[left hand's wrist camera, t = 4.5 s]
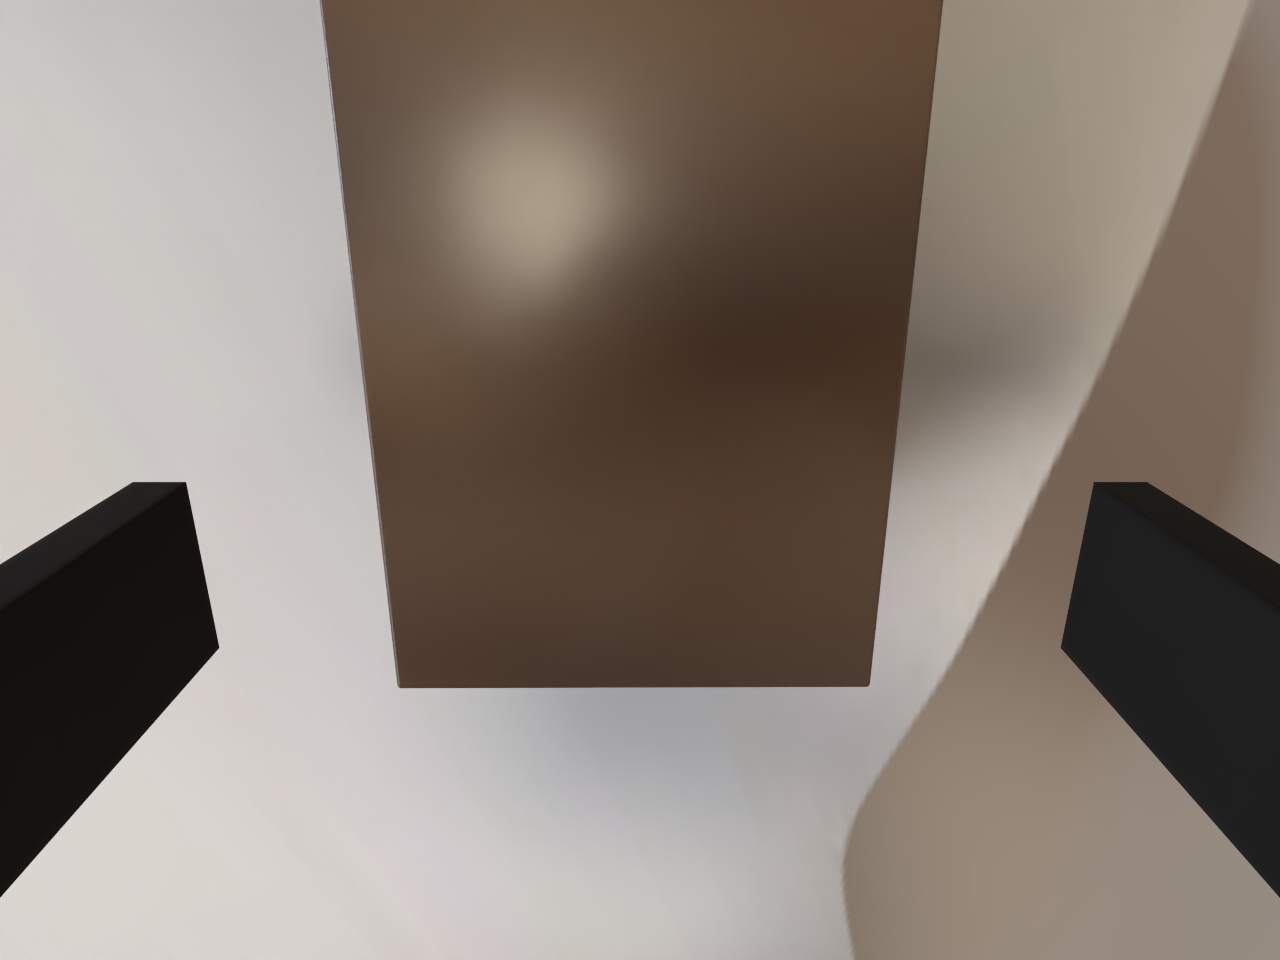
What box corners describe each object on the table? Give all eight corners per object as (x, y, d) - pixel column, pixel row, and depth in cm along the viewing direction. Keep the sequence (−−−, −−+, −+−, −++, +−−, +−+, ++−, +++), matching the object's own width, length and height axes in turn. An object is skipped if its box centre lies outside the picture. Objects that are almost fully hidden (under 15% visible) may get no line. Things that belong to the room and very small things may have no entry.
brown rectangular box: (426, -209, 20) (258, -522, 11) (837, -208, 20) (1000, -518, 11) (477, 515, 27) (396, 689, 18) (790, 515, 27) (870, 688, 18)
